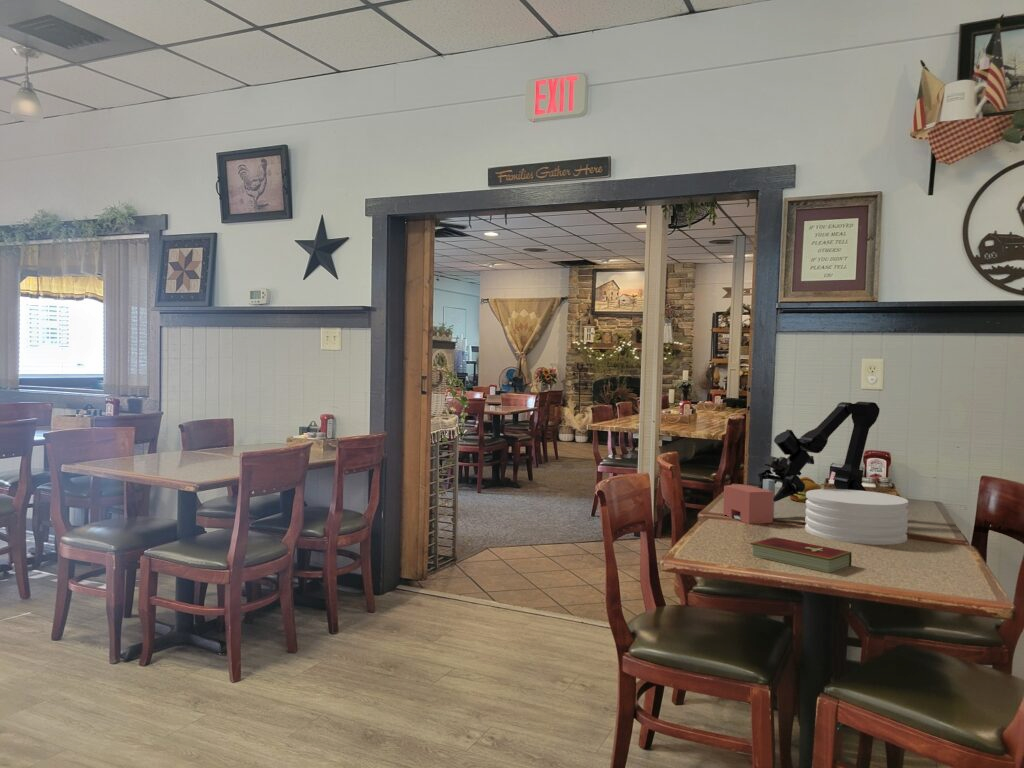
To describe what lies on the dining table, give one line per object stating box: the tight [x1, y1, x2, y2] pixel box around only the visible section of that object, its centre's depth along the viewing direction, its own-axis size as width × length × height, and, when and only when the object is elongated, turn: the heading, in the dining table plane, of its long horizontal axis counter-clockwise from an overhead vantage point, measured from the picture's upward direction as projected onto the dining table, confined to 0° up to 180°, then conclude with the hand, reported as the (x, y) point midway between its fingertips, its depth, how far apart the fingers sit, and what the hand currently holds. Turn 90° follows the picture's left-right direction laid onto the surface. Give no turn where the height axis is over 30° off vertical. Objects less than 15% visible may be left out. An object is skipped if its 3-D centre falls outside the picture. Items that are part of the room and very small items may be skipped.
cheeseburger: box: [788, 476, 822, 503], centre depth 281 cm, size 10×11×10 cm
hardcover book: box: [750, 536, 853, 574], centre depth 189 cm, size 12×21×4 cm, turn 42°
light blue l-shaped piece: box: [733, 479, 776, 520], centre depth 244 cm, size 13×3×12 cm, turn 108°
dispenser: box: [722, 484, 774, 525], centre depth 243 cm, size 10×14×10 cm
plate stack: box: [804, 488, 909, 546], centre depth 224 cm, size 28×28×12 cm
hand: (764, 498), depth 245 cm, fingers open, 9 cm apart
